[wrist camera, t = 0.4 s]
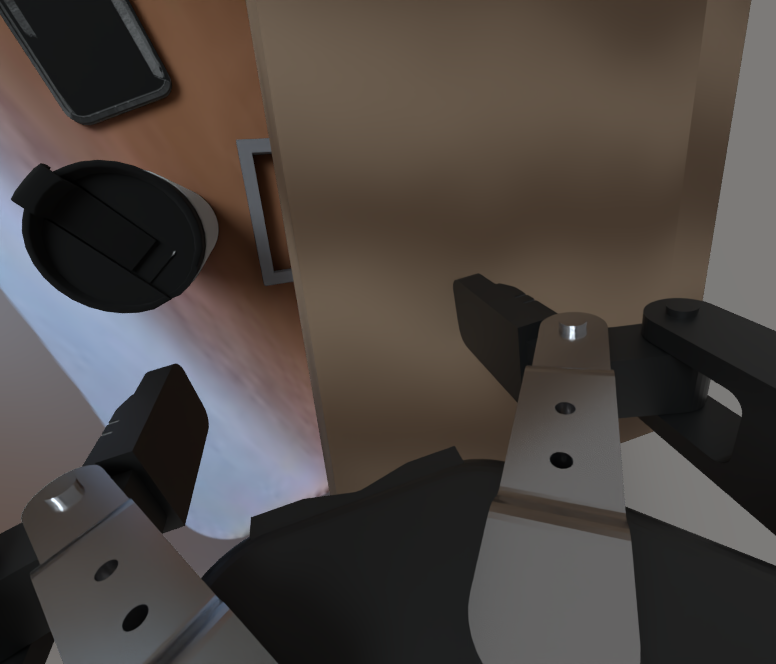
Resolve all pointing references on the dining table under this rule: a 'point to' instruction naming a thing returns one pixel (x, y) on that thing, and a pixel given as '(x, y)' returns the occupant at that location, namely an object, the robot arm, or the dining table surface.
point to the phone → (89, 55)
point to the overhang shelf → (482, 189)
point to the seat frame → (259, 209)
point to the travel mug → (114, 233)
